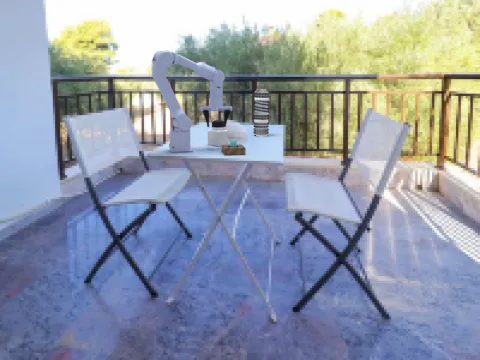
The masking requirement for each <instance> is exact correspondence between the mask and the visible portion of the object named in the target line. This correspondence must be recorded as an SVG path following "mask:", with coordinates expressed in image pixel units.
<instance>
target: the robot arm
mask: <svg viewBox="0 0 480 360" xmlns="http://www.w3.org/2000/svg"><path fill="white" fill-rule="evenodd" d="M151 62H152V65H151V66H152V67H151V75H152V76H151V77H152V78H153V81H154V83H155V84H156V87H157V88H158V90H159V92H160V94H161V96H162V98H163V101H165V105H166V106H167V108H168V110H169V112H170V118H171V121H172V126H173V127H174V128H173V130H169V131H168V132H169V135H168V137H169V143H168V148H169V150H170V151H169V152H170V153H181V152H182V153H185V152H193V149H192V148H191V128H192V125H193V122H192V119H191V118H190V117H189V116H187V114H186V112H185V111H184V110H183V108H182V107H181V104H180V103H179V100H178V99H177V97H176V94H175V93H174V91H173V89H172V87H171V85H170V82H169V81H168V79H167V77H166V74H167V71H168V70H169V68H170V67H171V65H173V64H174V65H175V64H178V65H179V66H182V67H185V68H188V69H190V70H193V71H194V74H195V75H197V76H200V78H201V77H202V78H204V79H206V80H208V81H209V91H210V92H209V105H206V106H199V107H200V112H202V113H203V116H204V119H205V121H206V127H207V128H210V113H209V112H213V111H214V112H223V121H224V128H226V127H227V123H228V119H229V117H230V114H231V112H232V111H233V106H231V105H227V106H224V105H223V104H224V101H223V99H224V98H223V97H224V96H223V95H224V92H223V91H224V90H223V89H224V85H223V84H224V82H225V79H226V76H225V74H224V71H222V70H221V69H216V67H215V66H211V65H209V64H207V62H205V61H199V62H195V61H193V60H190V59H188V58H187V57H186V56H183V55H180V54H179V53H176V52H173V51H170V50H158V51H156V52H155V53H154V54H153V57H152V59H151Z"/></svg>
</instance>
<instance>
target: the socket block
mask: <svg viewBox="0 0 480 360" xmlns="http://www.w3.org/2000/svg"><path fill="white" fill-rule="evenodd" d="M246 152H247V151H246V147H245V146H244V145H243V144H242V143H241V144H239V143H238V144H237V147H230V144H228V145H222V146H221V153H222V154H223V155H224V156H245V155H246Z"/></svg>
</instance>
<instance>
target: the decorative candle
mask: <svg viewBox="0 0 480 360" xmlns="http://www.w3.org/2000/svg"><path fill="white" fill-rule="evenodd" d="M269 94H270V91H269V90H268V89H266V88H257V89H256V90H255V91H254V99H253V101H252V103H254V104H253V110H254V111H253V115H254V119H253V128H252V129H253V132H252V133H253V136H254V135H256V136H255V137H268V136H267V135H269V131H270V129H269V128H270V126H269V124H270V123H269V115H270V108H269V107H270V104H271V101H270V97H269Z"/></svg>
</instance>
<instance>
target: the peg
mask: <svg viewBox="0 0 480 360" xmlns="http://www.w3.org/2000/svg"><path fill="white" fill-rule="evenodd" d="M229 145H230V147H237V145H238V139H237V138H230V139H229Z"/></svg>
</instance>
